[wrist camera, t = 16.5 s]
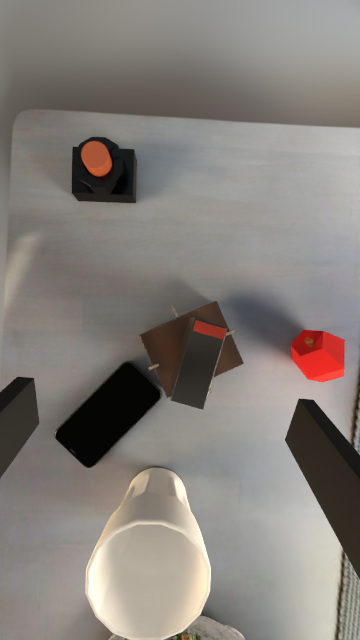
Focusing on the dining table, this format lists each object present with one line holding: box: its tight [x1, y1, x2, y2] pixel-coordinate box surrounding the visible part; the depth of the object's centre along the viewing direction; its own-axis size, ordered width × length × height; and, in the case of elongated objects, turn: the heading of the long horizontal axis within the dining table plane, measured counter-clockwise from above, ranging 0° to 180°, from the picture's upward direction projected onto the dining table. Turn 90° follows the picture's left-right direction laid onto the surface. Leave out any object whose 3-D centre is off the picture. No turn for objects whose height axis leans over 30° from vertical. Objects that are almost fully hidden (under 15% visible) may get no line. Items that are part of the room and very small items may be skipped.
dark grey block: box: [171, 317, 228, 409], centre depth 26 cm, size 8×3×9 cm, turn 163°
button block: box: [72, 137, 137, 203], centre depth 31 cm, size 8×6×4 cm
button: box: [81, 141, 112, 177], centre depth 29 cm, size 3×3×2 cm
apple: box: [290, 330, 344, 382], centre depth 31 cm, size 7×7×8 cm
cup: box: [86, 468, 211, 640], centre depth 29 cm, size 12×12×11 cm
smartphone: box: [55, 361, 162, 468], centre depth 33 cm, size 7×1×15 cm
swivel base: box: [139, 301, 244, 398], centre depth 32 cm, size 12×12×3 cm
